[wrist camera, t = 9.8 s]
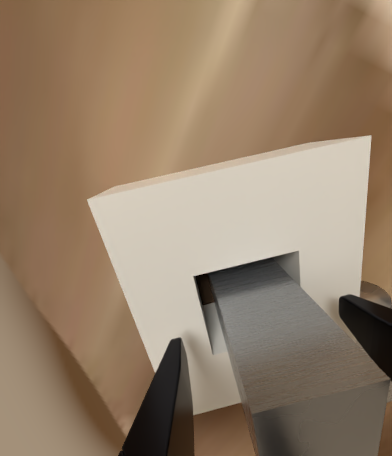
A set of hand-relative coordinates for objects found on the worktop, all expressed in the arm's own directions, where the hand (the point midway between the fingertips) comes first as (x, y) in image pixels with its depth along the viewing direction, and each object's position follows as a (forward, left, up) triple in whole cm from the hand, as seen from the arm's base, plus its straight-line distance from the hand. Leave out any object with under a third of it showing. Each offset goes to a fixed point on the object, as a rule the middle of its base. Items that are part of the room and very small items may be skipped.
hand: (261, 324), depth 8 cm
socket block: (0, 0, -4) cm, 4 cm away
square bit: (0, 0, -4) cm, 5 cm away
